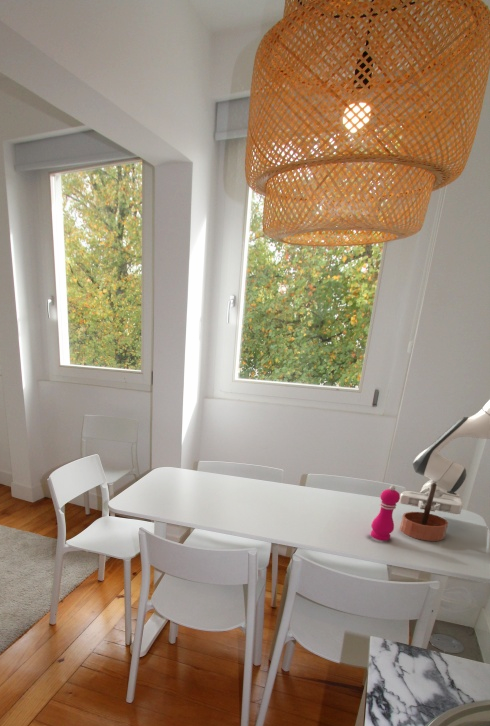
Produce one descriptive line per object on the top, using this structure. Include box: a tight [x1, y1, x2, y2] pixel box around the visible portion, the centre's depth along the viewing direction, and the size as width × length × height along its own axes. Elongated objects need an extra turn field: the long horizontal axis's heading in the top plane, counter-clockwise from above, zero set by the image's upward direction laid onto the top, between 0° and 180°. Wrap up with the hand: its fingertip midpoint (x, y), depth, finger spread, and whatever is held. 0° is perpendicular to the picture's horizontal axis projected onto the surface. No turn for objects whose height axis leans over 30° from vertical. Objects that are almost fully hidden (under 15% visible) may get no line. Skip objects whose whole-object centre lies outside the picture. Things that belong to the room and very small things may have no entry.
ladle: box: [421, 483, 437, 526], centre depth 169 cm, size 6×6×19 cm
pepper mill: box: [370, 485, 400, 542], centre depth 164 cm, size 7×7×20 cm
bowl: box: [399, 511, 449, 542], centre depth 171 cm, size 14×14×6 cm
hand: (427, 508), depth 168 cm, fingers closed on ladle, 2 cm apart
